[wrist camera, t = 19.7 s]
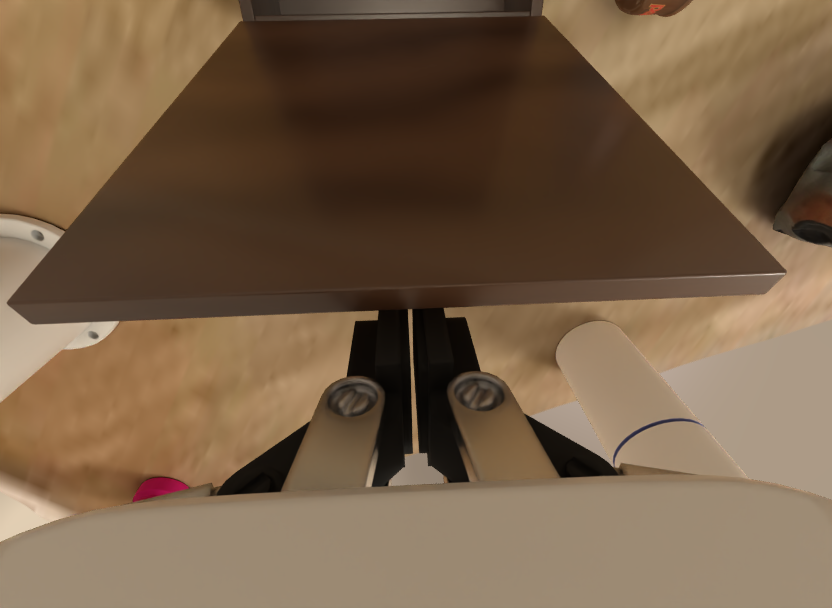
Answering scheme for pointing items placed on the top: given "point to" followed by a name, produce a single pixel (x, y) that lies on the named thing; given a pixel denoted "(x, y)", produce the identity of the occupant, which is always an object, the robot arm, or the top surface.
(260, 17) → the chest
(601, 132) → the lid
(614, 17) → the top surface
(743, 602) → the robot arm
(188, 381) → the top surface
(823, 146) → the lucky cat figurine
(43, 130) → the top surface
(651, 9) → the tin
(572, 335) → the cylindrical container
